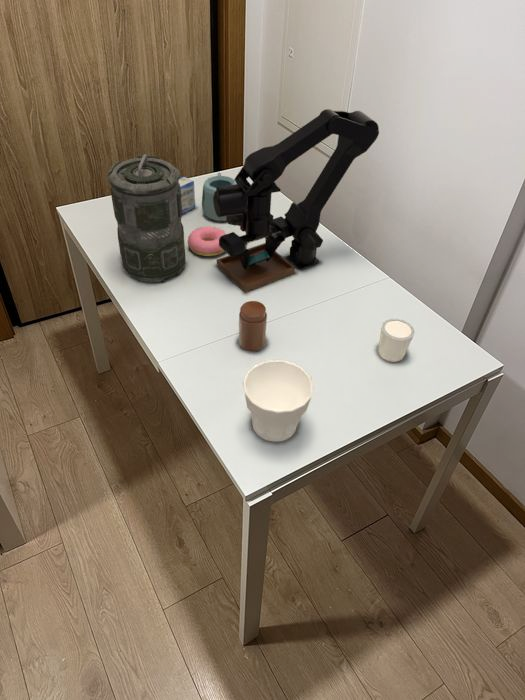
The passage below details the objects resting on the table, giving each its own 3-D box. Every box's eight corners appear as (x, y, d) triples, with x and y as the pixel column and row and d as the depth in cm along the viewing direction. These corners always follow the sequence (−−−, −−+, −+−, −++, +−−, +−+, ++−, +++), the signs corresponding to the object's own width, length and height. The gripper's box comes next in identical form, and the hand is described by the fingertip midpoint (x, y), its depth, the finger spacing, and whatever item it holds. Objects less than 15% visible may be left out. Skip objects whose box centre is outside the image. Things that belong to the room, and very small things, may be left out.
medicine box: (176, 218, 153) (174, 190, 147) (165, 212, 155) (163, 184, 149) (195, 208, 158) (194, 180, 152) (185, 202, 160) (183, 175, 154)
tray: (265, 249, 144) (265, 242, 142) (294, 273, 136) (295, 267, 135) (216, 266, 137) (216, 259, 136) (245, 293, 130) (245, 286, 128)
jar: (255, 330, 120) (257, 296, 113) (270, 345, 117) (272, 311, 110) (233, 339, 117) (234, 305, 111) (248, 355, 114) (249, 321, 107)
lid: (263, 261, 139) (261, 254, 138) (274, 255, 132) (271, 248, 132) (241, 269, 136) (239, 262, 136) (251, 263, 130) (248, 256, 130)
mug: (201, 198, 162) (200, 166, 155) (237, 197, 163) (237, 166, 156) (202, 224, 151) (201, 191, 144) (241, 223, 153) (241, 191, 146)
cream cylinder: (400, 368, 113) (407, 344, 108) (370, 355, 116) (376, 331, 111) (411, 349, 118) (419, 326, 113) (382, 337, 120) (389, 314, 115)
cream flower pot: (243, 397, 106) (244, 357, 98) (306, 400, 106) (312, 361, 98) (239, 449, 97) (240, 410, 89) (308, 452, 97) (315, 414, 89)
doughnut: (219, 233, 148) (219, 219, 145) (235, 254, 141) (235, 240, 138) (182, 241, 145) (181, 227, 142) (196, 262, 138) (196, 249, 135)
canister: (128, 247, 141) (112, 143, 122) (188, 249, 142) (182, 145, 123) (117, 283, 130) (98, 174, 111) (182, 285, 131) (174, 177, 111)
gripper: (270, 185, 133) (267, 239, 144) (206, 204, 125) (208, 259, 136) (297, 204, 127) (292, 259, 138) (231, 226, 119) (231, 282, 130)
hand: (255, 264), depth 135 cm, fingers closed on lid, 6 cm apart
